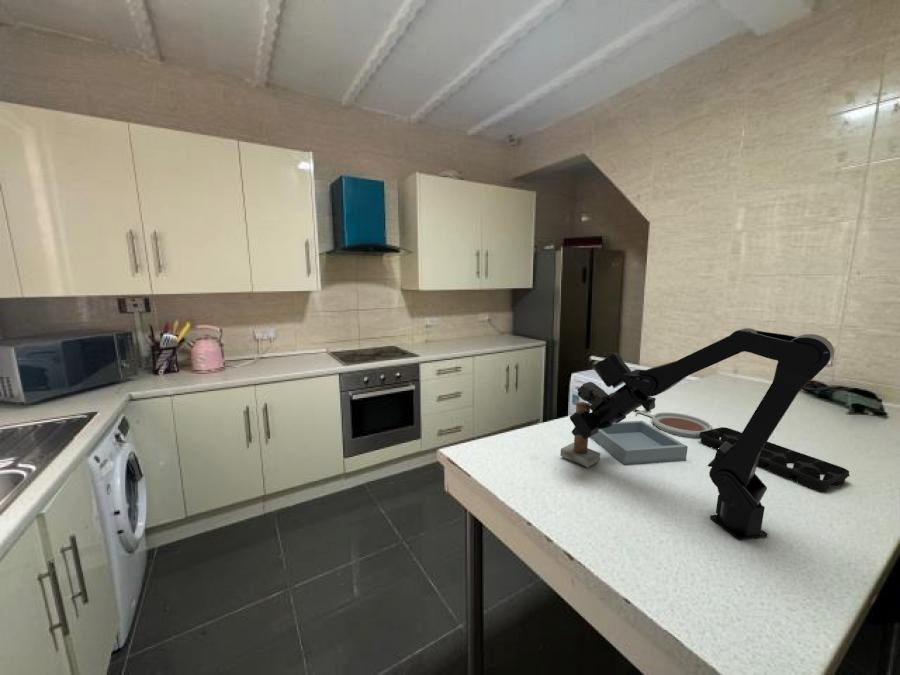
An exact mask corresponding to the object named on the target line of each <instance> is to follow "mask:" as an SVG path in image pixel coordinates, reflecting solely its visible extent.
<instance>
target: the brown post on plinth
mask: <svg viewBox="0 0 900 675" xmlns="http://www.w3.org/2000/svg"><path fill="white" fill-rule="evenodd" d="M575 404H576V405H575V413H576V412H578V411H580V410H585V411H588V413H591V409H590V408H589V406H590V405H591V404H590V403H588V402H587V401H578V402H576V403H575ZM573 436H574V437H573V438H574V439H573V442H571V443H570V444H567V445H566V446H564V447H562V448H560V456H561V457H562V458H565V459H566V460H567V459H568V460H569V461H571V462H574V463H576V464H579V465H581V466H584V467H586V468H590V467H591V466H593V465H595V464H596V463H598V462H599V461H600V460H601V452H599V451H596V450H593V449H591V448H588V445H589V438H587V439H584V438H582V436H581V435H573Z"/></svg>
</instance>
